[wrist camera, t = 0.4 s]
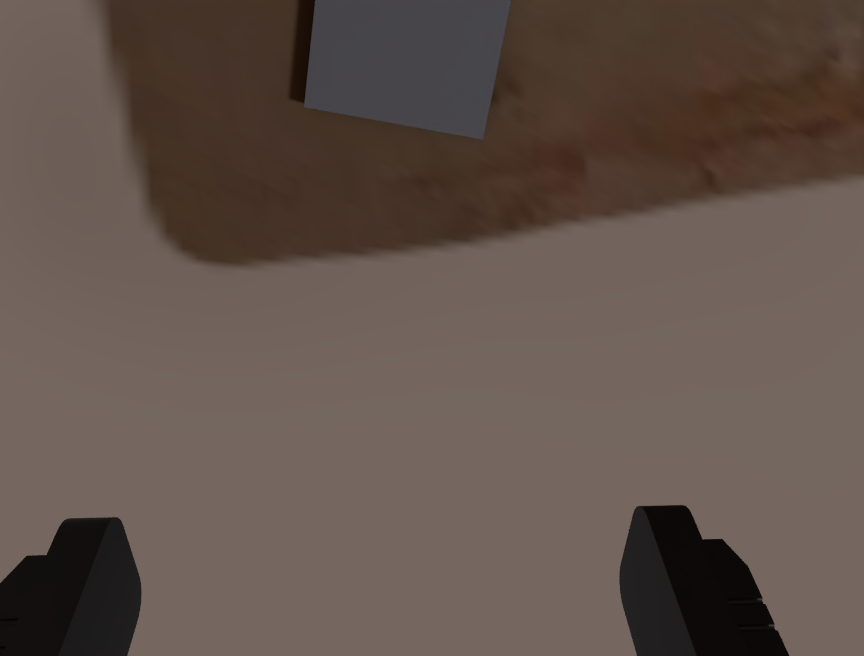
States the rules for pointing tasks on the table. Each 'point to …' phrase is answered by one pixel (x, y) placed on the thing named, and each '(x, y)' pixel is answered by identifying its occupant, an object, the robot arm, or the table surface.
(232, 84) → the table surface
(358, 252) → the table surface
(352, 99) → the dark rubber mat
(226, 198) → the table surface
